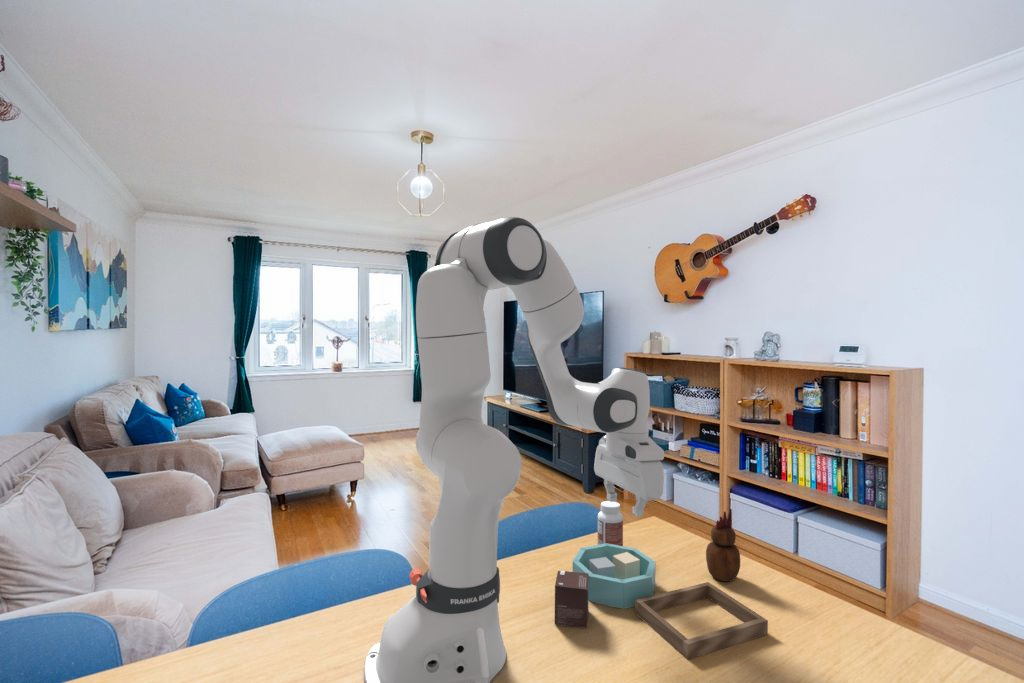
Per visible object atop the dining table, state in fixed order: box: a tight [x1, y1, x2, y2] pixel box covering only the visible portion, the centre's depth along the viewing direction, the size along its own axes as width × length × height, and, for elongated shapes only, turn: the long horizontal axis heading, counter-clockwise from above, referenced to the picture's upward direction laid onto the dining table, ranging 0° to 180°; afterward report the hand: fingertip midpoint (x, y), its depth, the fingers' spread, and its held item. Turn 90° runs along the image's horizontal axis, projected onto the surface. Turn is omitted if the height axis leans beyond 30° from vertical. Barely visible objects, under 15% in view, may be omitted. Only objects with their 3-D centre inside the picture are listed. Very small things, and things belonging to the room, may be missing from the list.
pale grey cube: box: [589, 557, 615, 578], centre depth 100 cm, size 4×4×4 cm
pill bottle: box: [597, 500, 624, 546], centre depth 118 cm, size 6×6×11 cm
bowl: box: [572, 543, 657, 610], centre depth 101 cm, size 16×16×5 cm
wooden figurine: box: [705, 508, 741, 582], centre depth 104 cm, size 7×6×15 cm
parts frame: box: [634, 581, 769, 661], centre depth 88 cm, size 18×14×2 cm
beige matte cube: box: [613, 552, 640, 580], centre depth 102 cm, size 4×4×4 cm
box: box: [554, 570, 589, 629], centre depth 89 cm, size 6×6×7 cm
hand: (624, 507), depth 103 cm, fingers open, 8 cm apart
